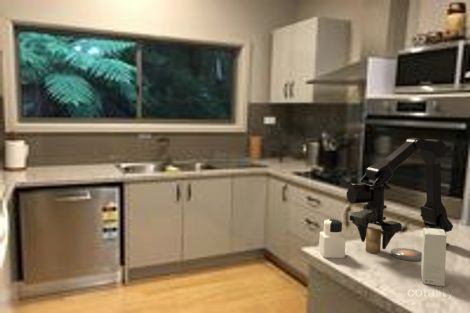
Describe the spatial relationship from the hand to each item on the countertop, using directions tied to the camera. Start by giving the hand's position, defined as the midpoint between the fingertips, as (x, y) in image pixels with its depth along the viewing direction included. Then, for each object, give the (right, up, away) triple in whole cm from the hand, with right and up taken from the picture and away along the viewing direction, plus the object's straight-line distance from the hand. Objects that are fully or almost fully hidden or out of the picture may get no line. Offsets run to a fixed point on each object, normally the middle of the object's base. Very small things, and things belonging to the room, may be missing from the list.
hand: (373, 245), depth 144 cm
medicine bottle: (-16, -2, -4) cm, 17 cm away
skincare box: (+9, -5, -25) cm, 27 cm away
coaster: (+11, -3, -4) cm, 12 cm away
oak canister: (0, -2, 0) cm, 2 cm away
